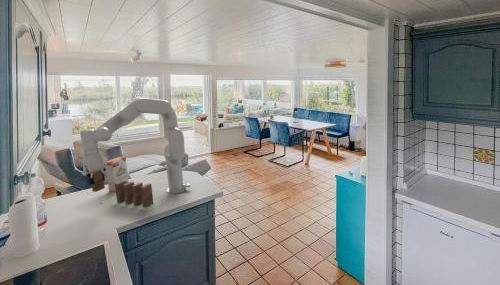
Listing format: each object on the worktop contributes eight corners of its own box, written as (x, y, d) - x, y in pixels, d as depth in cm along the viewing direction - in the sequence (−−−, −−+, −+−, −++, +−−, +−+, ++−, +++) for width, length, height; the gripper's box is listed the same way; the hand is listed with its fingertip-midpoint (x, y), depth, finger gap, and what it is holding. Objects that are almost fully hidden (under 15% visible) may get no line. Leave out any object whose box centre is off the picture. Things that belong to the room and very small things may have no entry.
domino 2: (128, 199, 171) (125, 180, 168) (120, 203, 165) (117, 184, 163) (125, 199, 171) (122, 180, 169) (117, 202, 166) (114, 183, 164)
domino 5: (153, 203, 163) (151, 183, 161) (146, 207, 158) (143, 187, 155) (150, 202, 164) (147, 183, 162) (142, 206, 159) (140, 187, 156)
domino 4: (144, 201, 166) (142, 182, 163) (137, 206, 160) (134, 186, 158) (141, 201, 167) (139, 182, 164) (134, 205, 161) (131, 185, 159)
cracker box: (116, 192, 185) (112, 162, 181) (108, 192, 186) (104, 161, 182) (129, 185, 198) (125, 156, 194) (122, 184, 200) (118, 156, 195)
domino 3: (136, 200, 168) (133, 181, 166) (128, 204, 163) (126, 185, 160) (133, 200, 169) (130, 181, 167) (125, 204, 164) (122, 184, 161)
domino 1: (104, 187, 161) (101, 168, 159) (95, 191, 156) (91, 171, 153) (101, 187, 162) (98, 167, 160) (92, 191, 157) (88, 171, 154)
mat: (163, 202, 164) (163, 202, 164) (149, 211, 153) (149, 210, 153) (115, 195, 179) (115, 195, 178) (99, 203, 168) (99, 202, 168)
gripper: (100, 147, 164) (105, 176, 167) (72, 155, 148) (78, 187, 152) (109, 148, 161) (114, 177, 165) (82, 156, 145) (88, 188, 149)
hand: (97, 182), depth 158 cm, fingers closed on domino 1, 5 cm apart
